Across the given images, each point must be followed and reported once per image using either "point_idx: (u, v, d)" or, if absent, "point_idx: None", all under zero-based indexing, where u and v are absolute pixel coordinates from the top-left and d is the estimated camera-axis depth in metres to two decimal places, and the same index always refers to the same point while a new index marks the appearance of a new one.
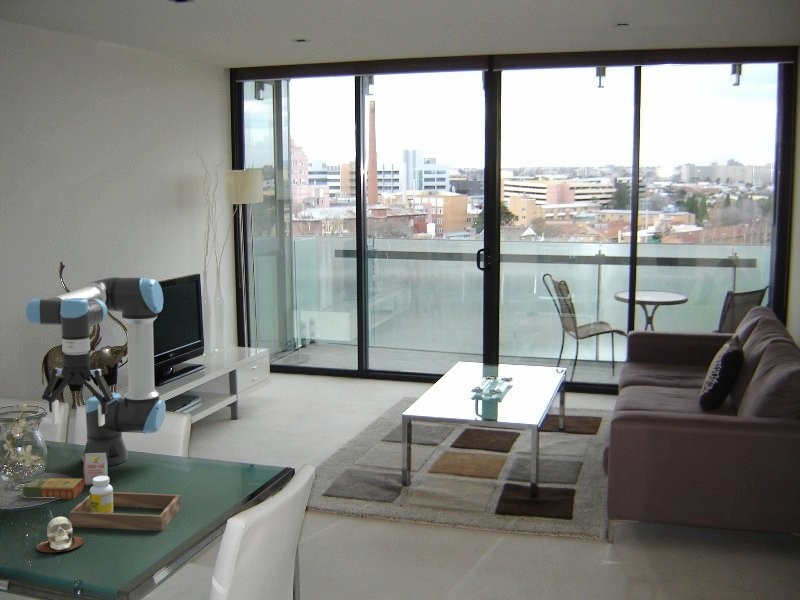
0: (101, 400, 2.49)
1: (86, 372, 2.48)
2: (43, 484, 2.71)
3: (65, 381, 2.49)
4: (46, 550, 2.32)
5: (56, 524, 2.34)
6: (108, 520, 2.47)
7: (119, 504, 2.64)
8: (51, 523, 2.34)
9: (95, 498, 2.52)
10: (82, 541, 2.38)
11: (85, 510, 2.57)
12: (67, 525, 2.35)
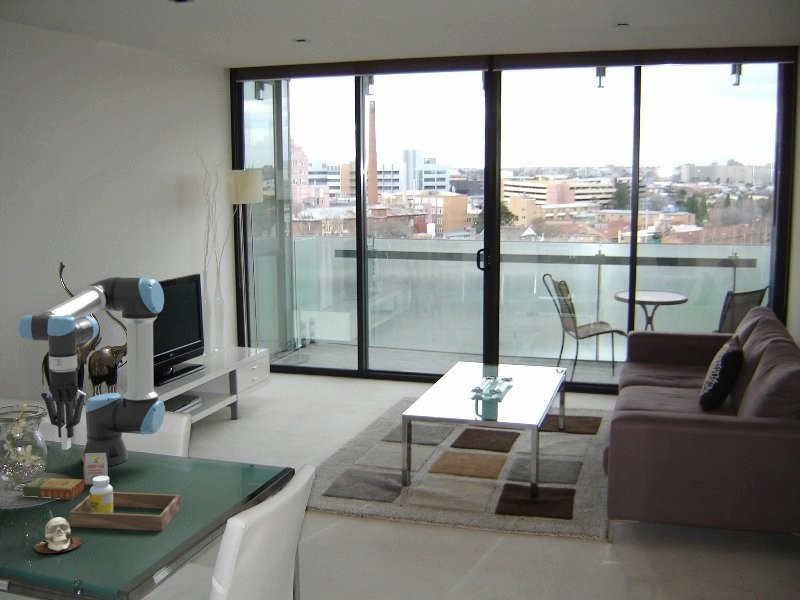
0: (68, 424, 2.52)
1: (73, 390, 2.50)
2: (43, 484, 2.71)
3: (57, 400, 2.50)
4: (44, 551, 2.31)
5: (54, 525, 2.33)
6: (108, 520, 2.47)
7: (119, 504, 2.64)
8: (49, 524, 2.34)
9: (95, 498, 2.52)
10: (80, 541, 2.38)
11: (85, 510, 2.57)
12: (66, 526, 2.35)
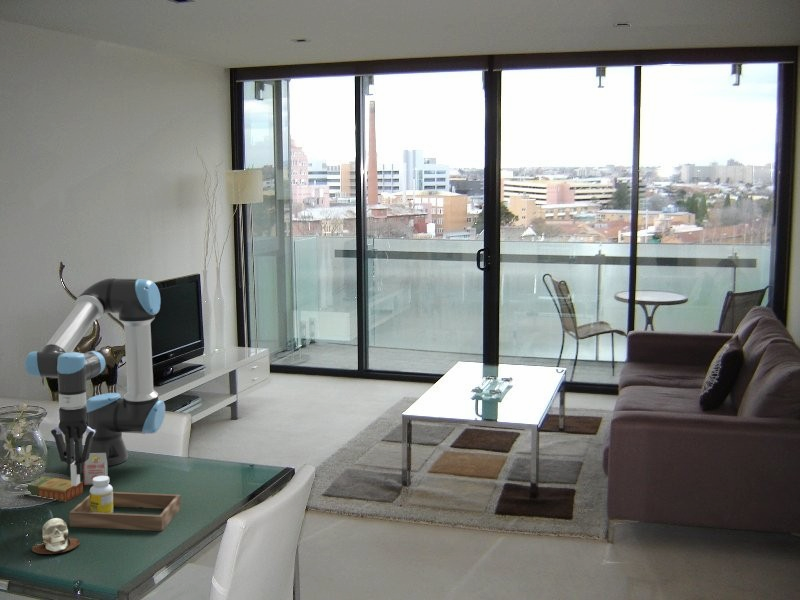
0: (77, 460, 2.53)
1: (83, 427, 2.52)
2: (43, 483, 2.71)
3: (67, 437, 2.52)
4: (42, 552, 2.31)
5: (52, 525, 2.33)
6: (108, 520, 2.47)
7: (119, 504, 2.64)
8: (47, 524, 2.33)
9: (95, 498, 2.52)
10: (78, 542, 2.37)
11: (85, 510, 2.57)
12: (63, 527, 2.34)
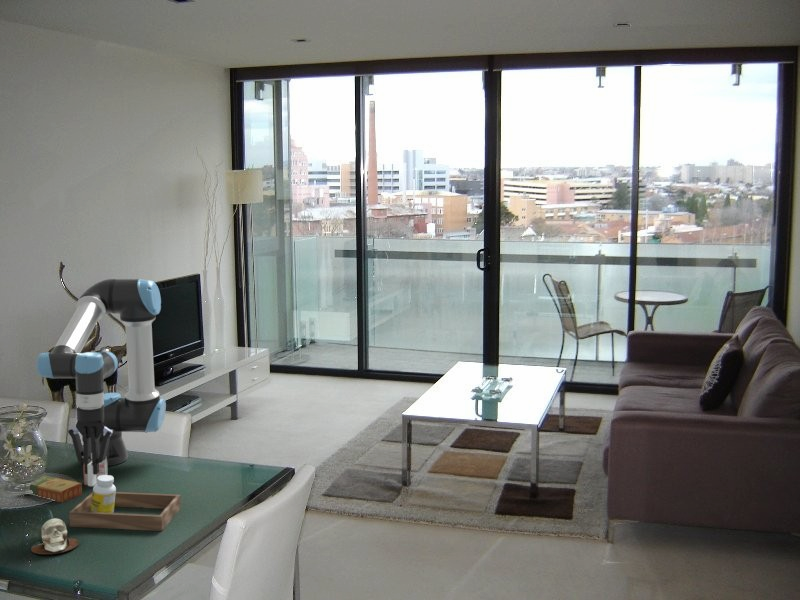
0: (94, 460, 2.52)
1: (100, 427, 2.51)
2: (43, 483, 2.72)
3: (84, 437, 2.51)
4: (41, 552, 2.30)
5: (51, 526, 2.32)
6: (108, 520, 2.47)
7: (119, 504, 2.64)
8: (46, 525, 2.33)
9: (97, 497, 2.52)
10: (77, 542, 2.37)
11: (85, 510, 2.57)
12: (62, 527, 2.34)
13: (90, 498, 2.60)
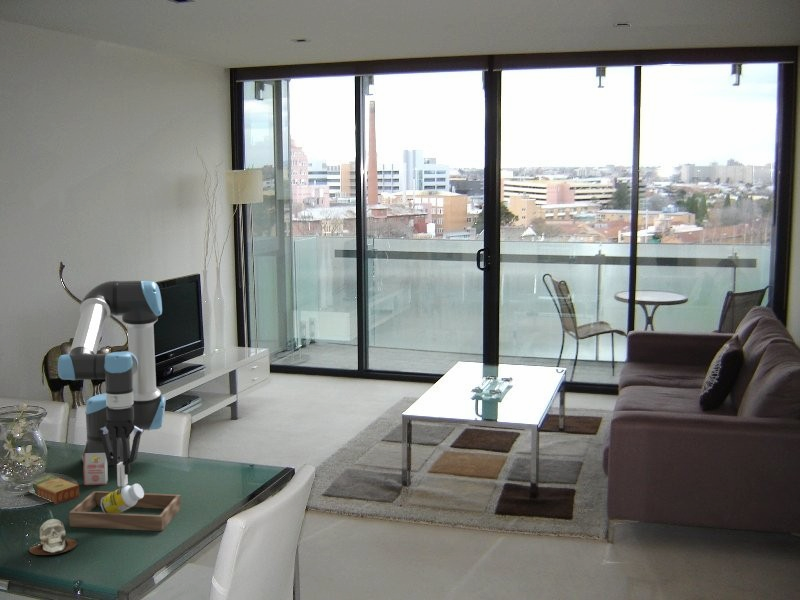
0: (125, 460, 2.52)
1: (130, 426, 2.50)
2: (43, 482, 2.72)
3: (114, 437, 2.51)
4: (39, 553, 2.30)
5: (49, 526, 2.32)
6: (108, 520, 2.47)
7: None
8: (44, 525, 2.33)
9: (119, 500, 2.52)
10: (75, 543, 2.37)
11: (85, 510, 2.57)
12: (60, 527, 2.34)
13: (90, 498, 2.60)
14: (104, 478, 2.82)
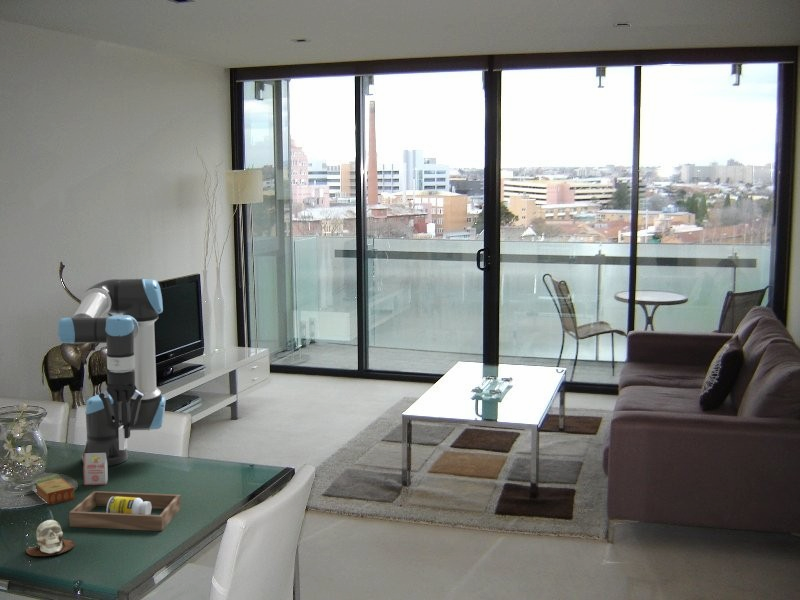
0: (125, 424, 2.51)
1: (131, 390, 2.49)
2: (43, 482, 2.73)
3: (115, 400, 2.49)
4: (37, 554, 2.29)
5: (47, 527, 2.31)
6: (108, 520, 2.47)
7: None
8: (41, 526, 2.32)
9: None
10: (72, 544, 2.36)
11: (85, 510, 2.57)
12: (58, 528, 2.33)
13: (90, 498, 2.60)
14: (104, 478, 2.82)
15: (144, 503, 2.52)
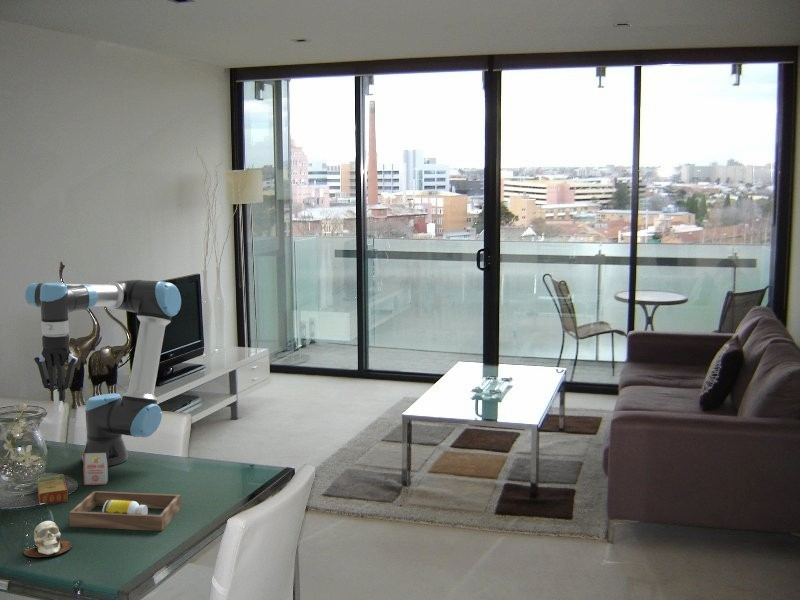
0: (60, 387, 2.61)
1: (65, 354, 2.60)
2: (45, 481, 2.73)
3: (50, 364, 2.60)
4: (35, 555, 2.29)
5: (44, 528, 2.31)
6: (108, 520, 2.47)
7: None
8: (39, 528, 2.31)
9: None
10: (70, 544, 2.36)
11: (85, 510, 2.57)
12: (55, 529, 2.33)
13: (90, 498, 2.60)
14: (104, 478, 2.82)
15: (138, 513, 2.48)
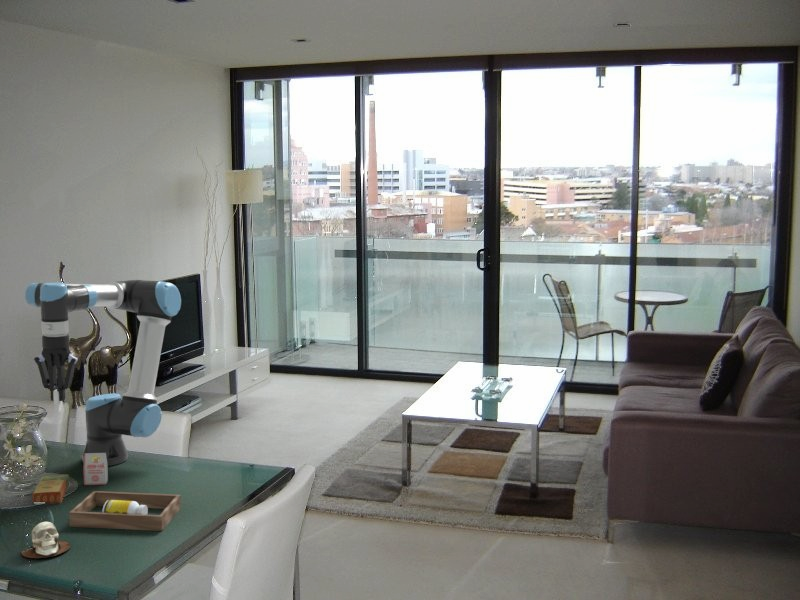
0: (60, 387, 2.61)
1: (65, 354, 2.60)
2: (46, 481, 2.74)
3: (50, 364, 2.60)
4: (33, 556, 2.28)
5: (42, 529, 2.30)
6: (108, 520, 2.47)
7: None
8: (36, 528, 2.31)
9: None
10: (68, 545, 2.35)
11: (85, 510, 2.57)
12: (53, 530, 2.32)
13: (90, 498, 2.60)
14: (104, 478, 2.82)
15: (138, 513, 2.48)
